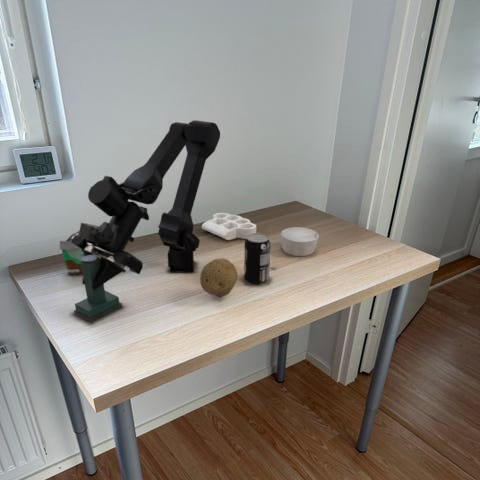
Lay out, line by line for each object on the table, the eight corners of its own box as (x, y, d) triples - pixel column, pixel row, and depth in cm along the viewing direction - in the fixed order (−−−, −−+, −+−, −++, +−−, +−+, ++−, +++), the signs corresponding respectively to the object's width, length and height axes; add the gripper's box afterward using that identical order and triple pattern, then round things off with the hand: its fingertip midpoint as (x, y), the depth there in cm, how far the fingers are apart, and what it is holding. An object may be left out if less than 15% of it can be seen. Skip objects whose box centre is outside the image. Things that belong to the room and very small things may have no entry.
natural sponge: (223, 310, 110) (223, 271, 104) (193, 299, 114) (191, 262, 108) (243, 294, 116) (244, 257, 111) (214, 285, 120) (213, 249, 115)
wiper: (106, 299, 113) (97, 248, 106) (122, 307, 110) (114, 255, 103) (74, 314, 107) (63, 261, 100) (90, 323, 104) (80, 268, 97)
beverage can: (243, 274, 126) (243, 232, 119) (267, 274, 126) (269, 232, 120) (245, 286, 120) (246, 242, 114) (270, 285, 121) (272, 241, 114)
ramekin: (313, 260, 134) (314, 243, 131) (275, 255, 137) (276, 238, 134) (320, 246, 143) (322, 229, 140) (284, 241, 146) (285, 225, 143)
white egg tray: (195, 229, 153) (229, 219, 162) (231, 245, 142) (265, 233, 150) (195, 219, 152) (229, 209, 160) (231, 234, 140) (266, 223, 149)
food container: (87, 279, 122) (80, 244, 117) (65, 277, 123) (58, 241, 118) (107, 260, 133) (102, 226, 127) (87, 258, 134) (81, 224, 128)
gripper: (71, 199, 104) (36, 259, 102) (126, 217, 94) (89, 285, 92) (104, 223, 113) (73, 280, 112) (158, 242, 104) (124, 304, 102)
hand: (88, 286), depth 104 cm, fingers closed on wiper, 3 cm apart
